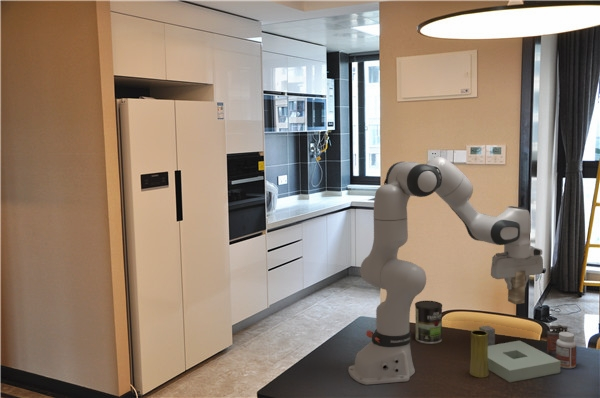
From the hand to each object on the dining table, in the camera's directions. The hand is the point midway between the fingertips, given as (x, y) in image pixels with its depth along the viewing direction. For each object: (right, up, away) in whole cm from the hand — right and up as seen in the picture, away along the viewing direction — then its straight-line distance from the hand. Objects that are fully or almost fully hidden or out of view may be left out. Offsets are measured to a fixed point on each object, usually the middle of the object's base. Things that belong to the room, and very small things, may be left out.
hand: (516, 288), depth 204 cm
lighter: (+15, -23, -1) cm, 27 cm away
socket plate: (-5, -25, -12) cm, 28 cm away
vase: (-19, -26, -17) cm, 36 cm away
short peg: (-8, -22, +9) cm, 25 cm away
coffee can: (-28, -23, +15) cm, 39 cm away
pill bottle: (+12, -25, -13) cm, 30 cm away
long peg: (0, -5, +1) cm, 5 cm away
